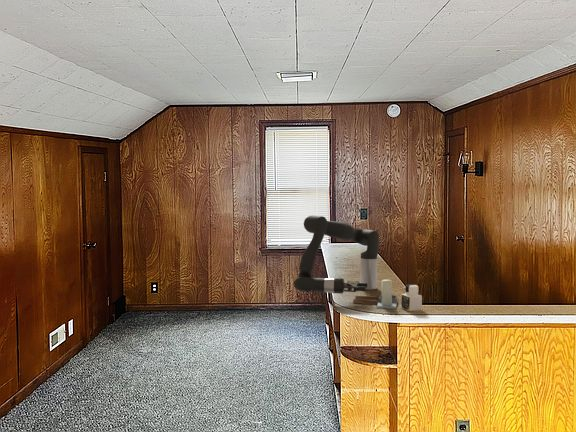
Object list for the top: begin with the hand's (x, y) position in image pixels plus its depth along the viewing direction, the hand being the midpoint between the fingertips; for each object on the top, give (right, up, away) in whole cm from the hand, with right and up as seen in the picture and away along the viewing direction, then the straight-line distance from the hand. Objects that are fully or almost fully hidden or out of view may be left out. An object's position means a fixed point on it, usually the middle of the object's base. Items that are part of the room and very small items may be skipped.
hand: (366, 287), depth 296 cm
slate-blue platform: (+10, -9, -1) cm, 14 cm away
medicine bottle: (+21, -10, -7) cm, 24 cm away
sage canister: (+10, -8, -2) cm, 13 cm away
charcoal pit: (+12, -9, +7) cm, 16 cm away
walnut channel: (+1, -8, +9) cm, 13 cm away
